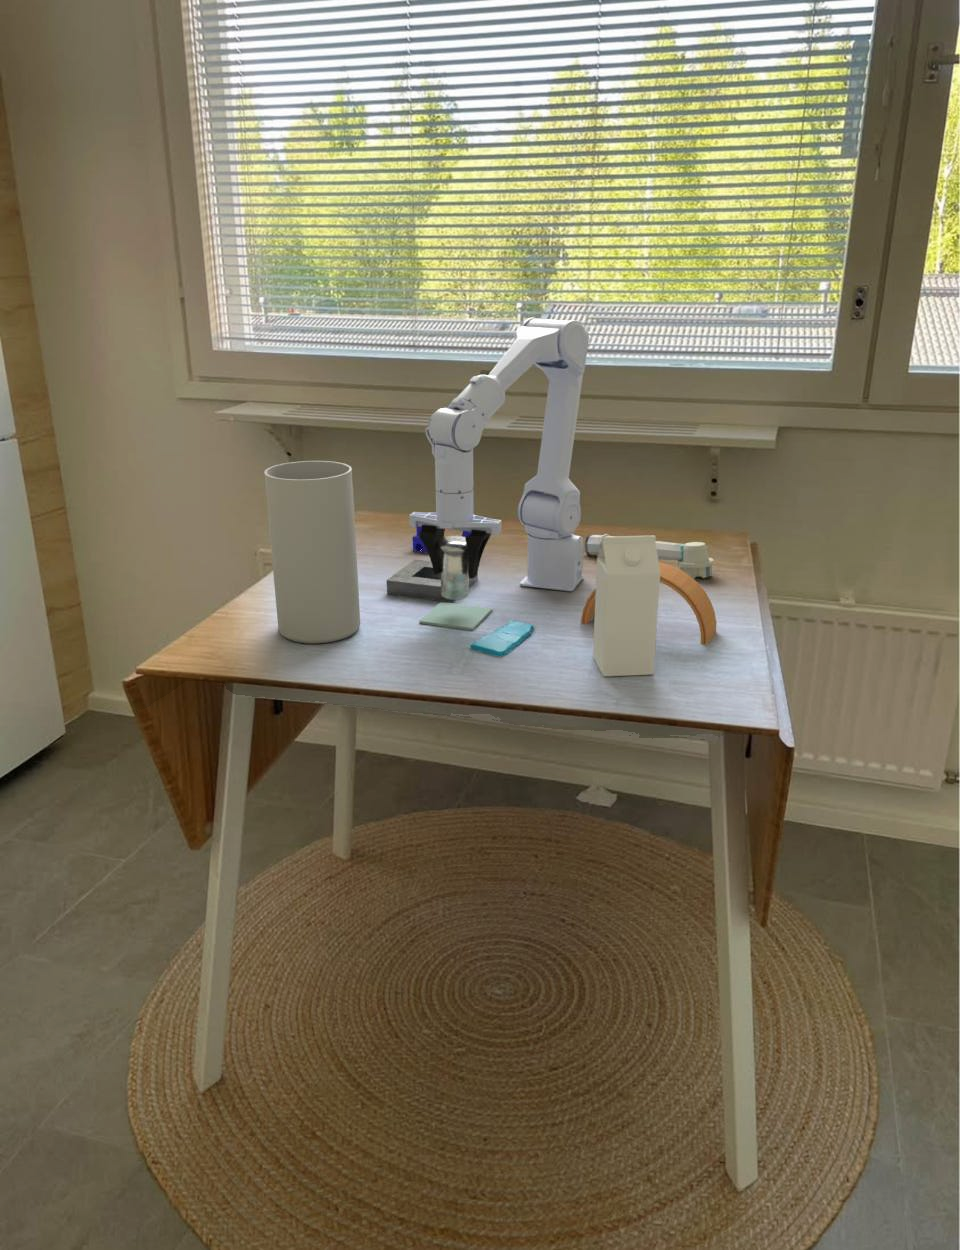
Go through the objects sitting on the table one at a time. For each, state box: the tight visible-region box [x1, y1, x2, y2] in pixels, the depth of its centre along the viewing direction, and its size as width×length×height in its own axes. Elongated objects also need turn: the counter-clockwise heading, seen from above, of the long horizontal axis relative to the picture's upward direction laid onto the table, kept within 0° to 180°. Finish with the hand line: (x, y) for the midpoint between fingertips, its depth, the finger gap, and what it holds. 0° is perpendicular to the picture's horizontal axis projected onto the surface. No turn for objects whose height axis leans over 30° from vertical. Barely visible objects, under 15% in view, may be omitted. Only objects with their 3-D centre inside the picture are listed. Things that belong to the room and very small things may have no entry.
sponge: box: [469, 620, 534, 657], centre depth 145 cm, size 2×12×6 cm
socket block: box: [385, 559, 479, 603], centre depth 167 cm, size 12×12×2 cm
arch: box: [580, 561, 717, 646], centre depth 147 cm, size 6×20×10 cm, turn 62°
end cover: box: [438, 535, 470, 601], centre depth 151 cm, size 5×5×9 cm
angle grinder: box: [583, 533, 715, 579], centre depth 177 cm, size 5×7×25 cm
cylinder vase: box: [263, 460, 361, 645], centre depth 144 cm, size 12×12×25 cm
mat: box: [419, 601, 493, 631], centre depth 154 cm, size 9×9×1 cm
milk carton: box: [592, 534, 661, 677], centre depth 132 cm, size 7×7×19 cm
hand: (455, 574), depth 151 cm, fingers closed on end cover, 5 cm apart
